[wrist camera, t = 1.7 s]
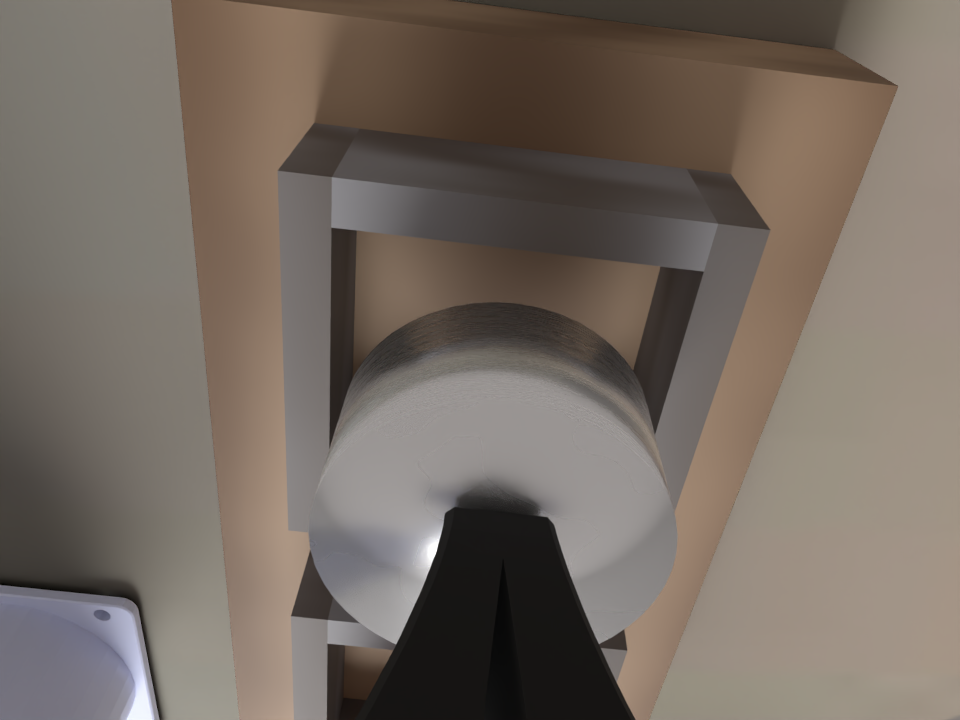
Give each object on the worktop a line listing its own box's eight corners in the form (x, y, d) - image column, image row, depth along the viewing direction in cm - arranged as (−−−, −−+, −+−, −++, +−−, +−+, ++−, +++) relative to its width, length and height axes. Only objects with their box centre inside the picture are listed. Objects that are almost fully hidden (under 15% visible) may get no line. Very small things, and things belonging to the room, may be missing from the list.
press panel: (266, 654, 26) (215, 823, 22) (227, -29, 15) (101, 19, 10) (615, 689, 27) (637, 862, 22) (835, 49, 15) (974, 129, 11)
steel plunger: (340, 529, 14) (309, 648, 12) (344, 283, 11) (306, 379, 9) (614, 559, 14) (632, 681, 12) (684, 322, 11) (722, 426, 9)
